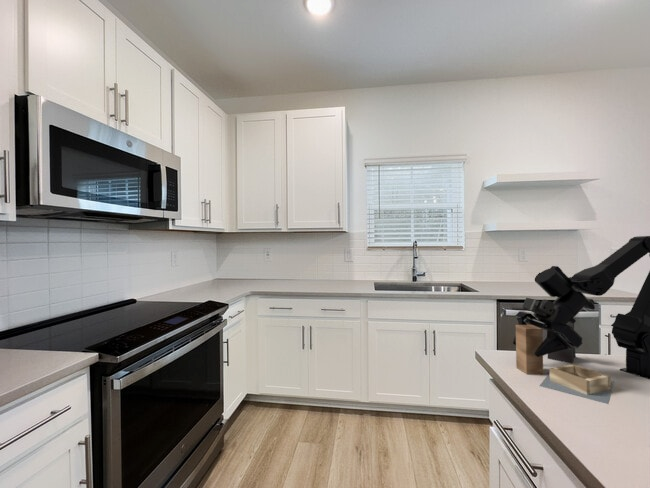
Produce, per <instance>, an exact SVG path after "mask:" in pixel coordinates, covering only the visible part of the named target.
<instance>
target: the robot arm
mask: <svg viewBox="0 0 650 488" xmlns="http://www.w3.org/2000/svg"><path fill="white" fill-rule="evenodd" d="M646 255H649V257H650V235H643V236H642V235H639V236H634V237H631V238H630V239H629V240H628V241H627V242H626V243H625V244H624V245H622V246H621V247H619V248H618V249H617V250H616V251H614V252H612V254H610V255H608V257H606V258H605V259H603V260H602V261H601V262H600V263H598V264H596V265H594V266H591V267H587V268H584V269H582V270H580V271H579V272H576V273H574V274H573V275H572V276H568V275H566V274H565V272H564V271H563V270H562V269H561V268H560V266H558V265H552V266H551V267H549V268H547V269H544V270H542V271H541V272H538V274H536V275H535V277H534V281H535V283H536V284H537V285H538V286H539V287H540V288H541V289H542V290H543V291H544V292H545V293H546V294H547V296H550V297H551V298H556V299H555V300H554V301H551V300H548V299H543V300H541V301H540V300H537V299H535V298H530V297H526V298H525V299H524V302H523V304H522V306H521V309H524V310H527V311H529V312H527V311H524V310H523V311H522V310H521V311H517V313H516V314H515V317H516V321H517V322H518V323H517V324H518V325H533V326H536V327H539V328H541V329H542V331H546V338H545V339H544V340H543V342H542V344H541V345H540V346H539V347H538V349H537V350H536V351H535V353H534V354H535V355H536V356H537V357H540V356H543V357H544V356H545V355H548V354H549V353H553V352H556V351H560V350H565V349H572V347H574V348H575V350H576V349H577V350H578V349H579V348H580V347H581V346H582V344H583V337H582V336H581V335H580V334H579V333H578V332H577V331H576V330H575V329H574V330H573V329H572V328H571V327H570V326H569V325H567V324H568V323H569V322H570V323H573V324H574V325H575V323H576V322H577V320H576V319H575V317H576V316H577V315H578V314H579V313H580V312H581V311H582V310H583V309H587V310H588V309H590V310H595V309H596V308H595V304H594V299H592V298H589V297H587V296H586V295H591V296H598V297H600V296H603V295H605V294H606V293H607V292H608V291H609V290H610V289H611V288H612V287H613V285H614V284H615V281H616V280H615V279H616V278H617V277H618V276H619V275H620V274H622V273H623V272H624V271H625V270H627V269H628V268H630V267H631V266H633V265H634V264H636V262H638V261H639V260H641V259H642V258H643V257H644V256H646ZM585 294H586V295H585ZM530 312H531V313H530ZM532 313H533V314H532ZM611 329H612V330H611V334H612V336H613V339H615V341H616V344H617V347H620V348H623V349H625V367H622V368H619V371H621V372H625V373H628V374H630V375H634V376H638V377H641V378H643V379H644V378H645V379H648V380H650V270H649V271H648V274H647V275H646V277H645V280H644V282H643V284H642V286H641V289H640V290H639V292H638V295H637V297H636V298H635V300H634V303H633V305H632V307H631V309H630V311H628V312H627V313H625V314H623V313H618V314H617V315H616V316H615V319H614V322H613V323H612V324H611ZM512 345H514V346H515V347H516V335H515V336H514V338H513V341H512Z"/></svg>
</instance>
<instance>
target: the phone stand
mask: <svg viewBox="0 0 650 488" xmlns="http://www.w3.org/2000/svg"><path fill="white" fill-rule="evenodd" d="M567 325H569V326H570V327H571V328H572V329H573V330H575V323H574V324H573V323H570V322H569V323H568V324H567ZM576 357H577V356H576V348H574V347H572V349H565V350H560V351H556V352H553V353H549V354H547V360H553V361H558V362H562V363H567V364H574V358H576Z"/></svg>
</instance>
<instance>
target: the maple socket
mask: <svg viewBox="0 0 650 488" xmlns="http://www.w3.org/2000/svg"><path fill="white" fill-rule="evenodd" d="M549 373H550V380H551V381H553V382H556V383H558V384H561V385H564V386H566V387H569V388H571V389H574V390H576V391H579V392H581V393H584V394H586V395H588V394H592V393H596V392H601V391H605V390H609V389H611V381H612V380H611V379H612V376H611V375H608V374H604V373H601V372H599V371H596V370H592V369H589V368H586V367H582V366H580V365H577V364H574V363H573V364H572V363H569V364H564V365H560V366H554V367H550V368H549Z"/></svg>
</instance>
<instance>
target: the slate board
mask: <svg viewBox="0 0 650 488" xmlns="http://www.w3.org/2000/svg"><path fill="white" fill-rule="evenodd" d="M614 382H615V381H613V380H611V389H609V390H605V391H601V392H596V393H592V394H588V395H586V394H584V393H581V392H579V391H576V390H574V389H571V388H569V387H566V386H564V385H561V384H558V383H556V382H553V381H551V380H550V372H549V373H548V374H547V375H546V377H544V379H543V380H542V381H541V383H540V384H539V385H538V386H539V387H542V388H545V389H550V390H554V391H557V392H561V393H564V394H568V395H572V396H576V397H580V398H584V399H586V400H591V401H595V402H599V403H603V404H606V405H609V402H610V399H611V394H612V391H613V386H614Z"/></svg>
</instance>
